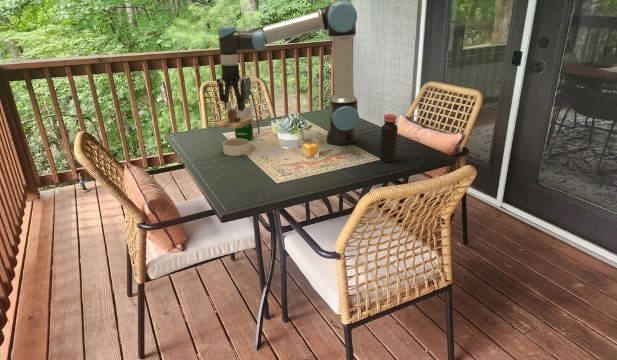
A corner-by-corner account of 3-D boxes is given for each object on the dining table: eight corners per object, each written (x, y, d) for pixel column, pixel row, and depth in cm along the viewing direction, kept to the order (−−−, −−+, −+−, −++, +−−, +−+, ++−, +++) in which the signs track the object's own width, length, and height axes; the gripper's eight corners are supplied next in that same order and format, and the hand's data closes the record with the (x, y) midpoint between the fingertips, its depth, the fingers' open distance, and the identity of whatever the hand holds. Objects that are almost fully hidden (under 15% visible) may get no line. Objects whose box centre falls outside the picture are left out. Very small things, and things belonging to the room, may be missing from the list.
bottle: (385, 156, 187) (388, 112, 179) (398, 160, 183) (401, 115, 175) (376, 160, 183) (378, 115, 175) (389, 164, 178) (392, 118, 171)
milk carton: (234, 142, 211) (230, 103, 203) (238, 137, 219) (235, 99, 211) (251, 142, 210) (248, 103, 202) (255, 137, 218) (252, 99, 210)
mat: (289, 147, 201) (289, 146, 201) (279, 158, 188) (279, 157, 188) (260, 145, 205) (260, 144, 205) (248, 155, 192) (248, 154, 191)
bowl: (253, 149, 200) (252, 139, 198) (243, 157, 190) (242, 147, 188) (230, 147, 203) (229, 137, 201) (219, 155, 193) (218, 145, 191)
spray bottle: (259, 133, 224) (255, 77, 212) (238, 134, 224) (233, 77, 212) (261, 128, 233) (258, 74, 221) (241, 129, 233) (237, 74, 221)
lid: (253, 120, 195) (252, 108, 193) (242, 128, 184) (241, 114, 181) (227, 119, 198) (226, 106, 196) (215, 126, 187) (214, 113, 184)
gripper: (251, 63, 182) (254, 115, 191) (215, 62, 186) (220, 113, 195) (244, 65, 175) (248, 120, 184) (207, 64, 179) (213, 117, 188)
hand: (234, 116), depth 190 cm, fingers closed on lid, 4 cm apart
